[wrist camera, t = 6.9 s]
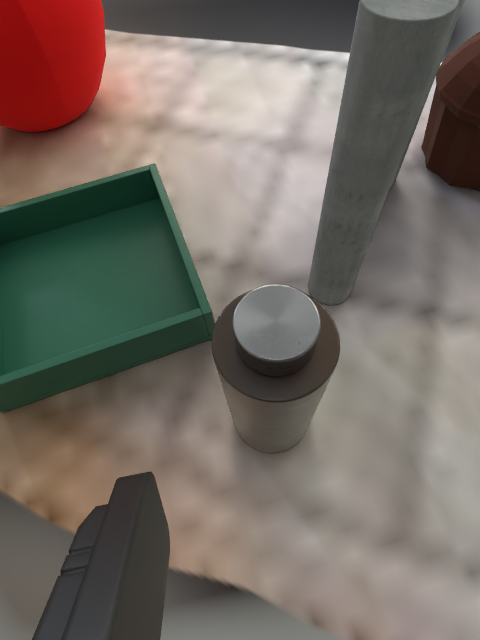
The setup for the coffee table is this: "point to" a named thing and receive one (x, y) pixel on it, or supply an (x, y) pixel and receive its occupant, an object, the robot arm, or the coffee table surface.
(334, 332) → the pepper mill
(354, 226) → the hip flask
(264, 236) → the coffee table surface
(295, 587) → the coffee table surface
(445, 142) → the muffin
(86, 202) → the tray
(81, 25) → the vase
